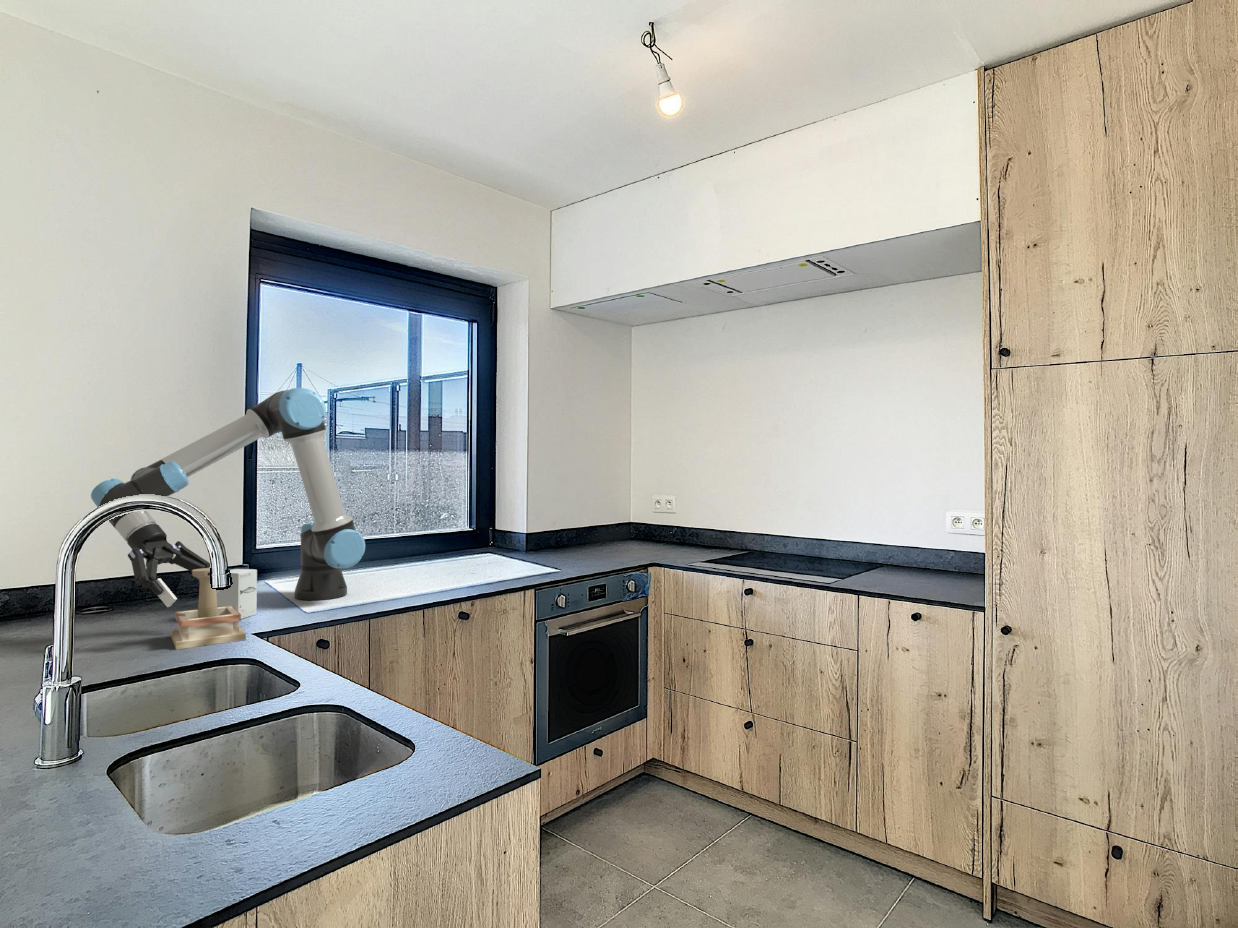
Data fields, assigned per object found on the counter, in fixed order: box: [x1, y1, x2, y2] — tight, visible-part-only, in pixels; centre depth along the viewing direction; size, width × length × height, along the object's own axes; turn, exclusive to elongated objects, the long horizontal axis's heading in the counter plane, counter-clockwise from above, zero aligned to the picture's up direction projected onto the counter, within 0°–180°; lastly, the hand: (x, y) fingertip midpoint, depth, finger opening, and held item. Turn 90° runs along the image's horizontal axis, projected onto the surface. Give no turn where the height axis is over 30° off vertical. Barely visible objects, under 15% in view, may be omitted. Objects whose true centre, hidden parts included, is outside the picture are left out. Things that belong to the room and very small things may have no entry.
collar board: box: [170, 606, 247, 650], centre depth 166 cm, size 14×14×6 cm
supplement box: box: [216, 568, 258, 620], centre depth 188 cm, size 7×7×13 cm
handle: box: [191, 567, 217, 618], centre depth 166 cm, size 5×6×15 cm
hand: (195, 597), depth 166 cm, fingers open, 13 cm apart
